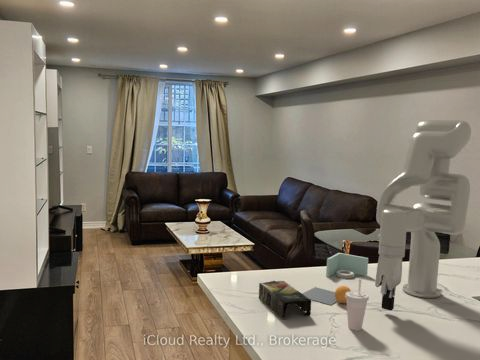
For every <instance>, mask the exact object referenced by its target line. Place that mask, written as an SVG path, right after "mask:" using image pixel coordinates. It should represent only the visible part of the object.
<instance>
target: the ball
mask: <svg viewBox="0 0 480 360" xmlns="http://www.w3.org/2000/svg"><path fill="white" fill-rule="evenodd" d="M348 291H352V290H351V288H350V287H348V286H346V285H340V286H338V287H337V288H336V289H335V291H334V292H335V298H336V300H337V302H338V303H340V304H347V299H346V297H345V295H346V292H348Z"/></svg>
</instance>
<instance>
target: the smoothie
mask: <svg viewBox="0 0 480 360" xmlns="http://www.w3.org/2000/svg"><path fill="white" fill-rule="evenodd" d="M361 284H362V279H358V290H351V291H348V292H346V295H345V297H346V299H347V303H346V312H347V313H346V314H347V316H346V317H347V327H348V329H349V330H352V331H356V332H359V331H362V329H363V324H364V319H365V314H366V309H367V304H368V301H369V298H370V297H369V296H370V295H369V294H368V293H365V292H363V291H361V289H362V285H361Z"/></svg>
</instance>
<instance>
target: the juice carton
mask: <svg viewBox="0 0 480 360" xmlns="http://www.w3.org/2000/svg"><path fill="white" fill-rule="evenodd" d="M258 288H259V289H258V299H260V301H261V302H262V303H264V304H265V305H266V306H267V307H268V308H269V309H270V310H271V311H272V312H273V313H274V314H276V316H278V317H279V318H280V319H281V320H283V321H286V319H285V316H286V313H287V312H286V311H287V309H288V307H289V305H290V304H293V305H294V306H295V307H298V308H299V309H300V310H301V311H302V312H304V314H303V316H305V317H310V316H311V314H312V313H311V311H312V300H310V299H309V298H307V297H306V296H305V295H303V294H302V293H303V292H300V291H299V290H297V289H296V288H295V287H293V286H291V285H290V284H289V283H288V282H287V281H285V280H272V281H271V280H270V281H266V282H259V284H258Z"/></svg>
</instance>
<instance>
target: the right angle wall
mask: <svg viewBox="0 0 480 360" xmlns="http://www.w3.org/2000/svg"><path fill="white" fill-rule="evenodd" d="M368 267H369V257H365V256H358V255H353V254H348V253H342V252H337V253H335V254H334V255H332V256H330V257H327V259H326V270H325V271H326V274H325V276H326V278H329V277H331V276H333V275H334V274H335V275H336V276H337V277H338V278H340V279H346V278H347V279H353V278H354V277H355V275H359V276H363V277H367V276H368V271H369V270H368V269H369V268H368Z"/></svg>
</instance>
